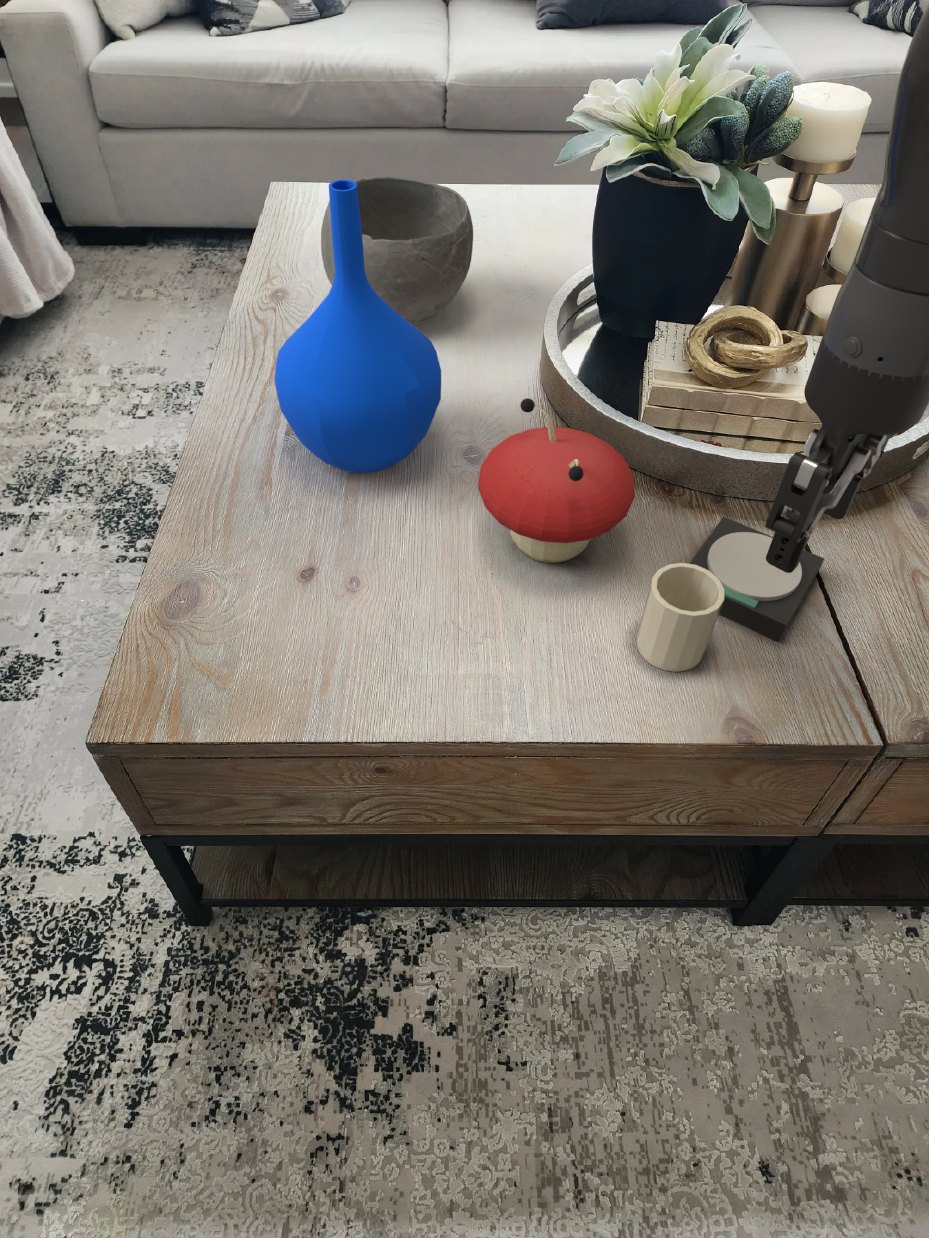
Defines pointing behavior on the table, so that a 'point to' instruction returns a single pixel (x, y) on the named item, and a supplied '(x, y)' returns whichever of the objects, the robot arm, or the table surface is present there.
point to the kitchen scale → (755, 578)
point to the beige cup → (679, 616)
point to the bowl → (410, 243)
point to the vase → (357, 364)
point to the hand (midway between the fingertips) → (806, 538)
